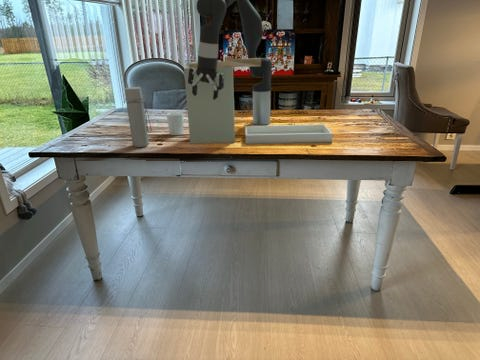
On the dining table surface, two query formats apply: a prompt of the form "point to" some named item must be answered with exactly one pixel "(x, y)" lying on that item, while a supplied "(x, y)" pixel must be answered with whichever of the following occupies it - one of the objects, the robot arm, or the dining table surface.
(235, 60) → the beige long bar
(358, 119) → the dining table surface
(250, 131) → the tray
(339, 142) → the dining table surface
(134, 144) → the water bottle
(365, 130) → the dining table surface
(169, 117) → the white cup
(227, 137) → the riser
